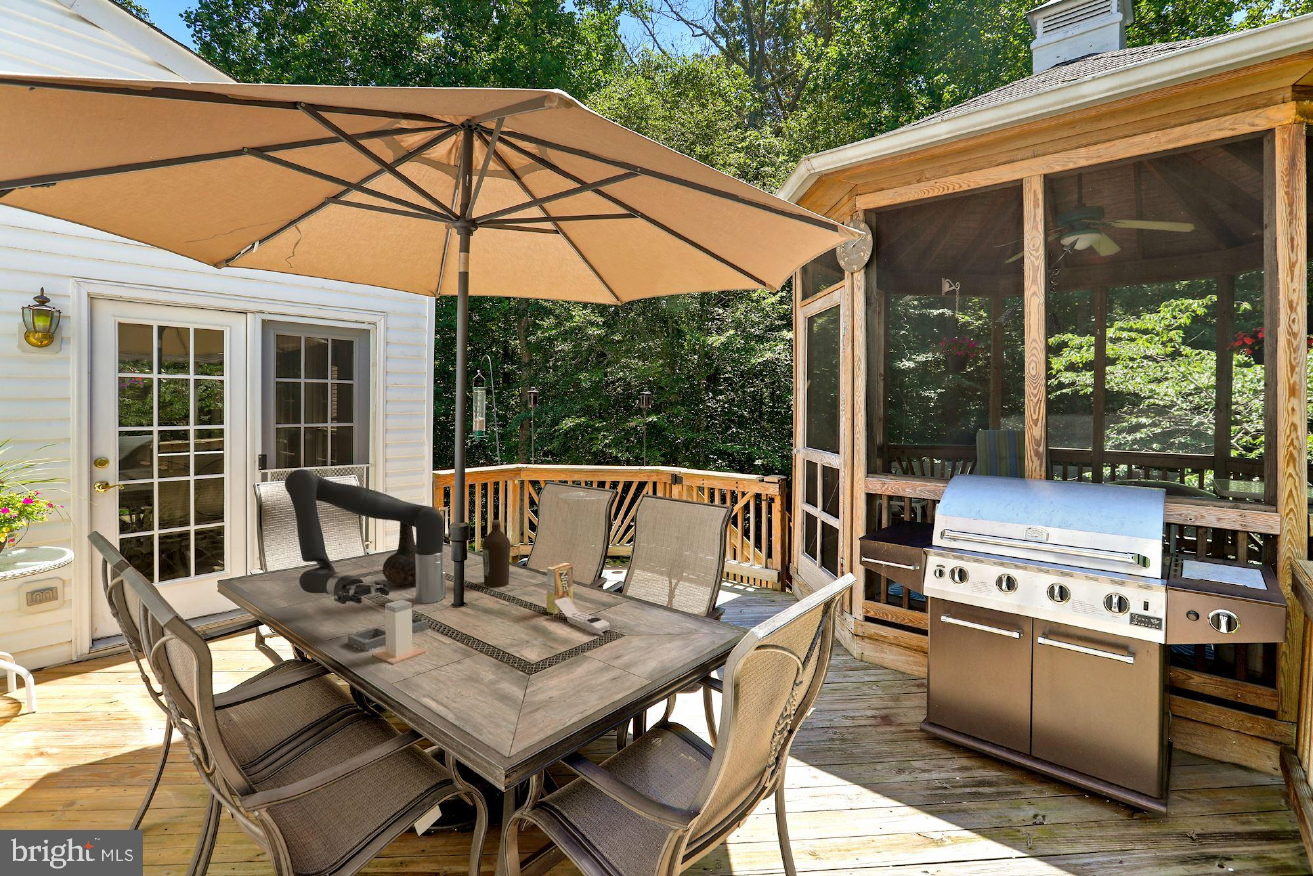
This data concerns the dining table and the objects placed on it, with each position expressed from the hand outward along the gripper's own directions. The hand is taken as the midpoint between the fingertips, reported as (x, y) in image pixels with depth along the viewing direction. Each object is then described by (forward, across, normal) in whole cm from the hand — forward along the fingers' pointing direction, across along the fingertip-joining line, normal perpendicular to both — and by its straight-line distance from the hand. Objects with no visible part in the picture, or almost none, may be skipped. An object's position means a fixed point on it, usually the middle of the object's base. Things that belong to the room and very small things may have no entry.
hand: (374, 596), depth 184 cm
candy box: (+25, +52, +15) cm, 60 cm away
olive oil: (-16, +60, +15) cm, 63 cm away
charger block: (+14, -2, +13) cm, 19 cm away
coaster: (+14, -2, +14) cm, 20 cm away
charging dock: (0, +4, +14) cm, 14 cm away
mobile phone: (+40, +46, +15) cm, 63 cm away
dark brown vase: (-44, +40, +14) cm, 61 cm away
